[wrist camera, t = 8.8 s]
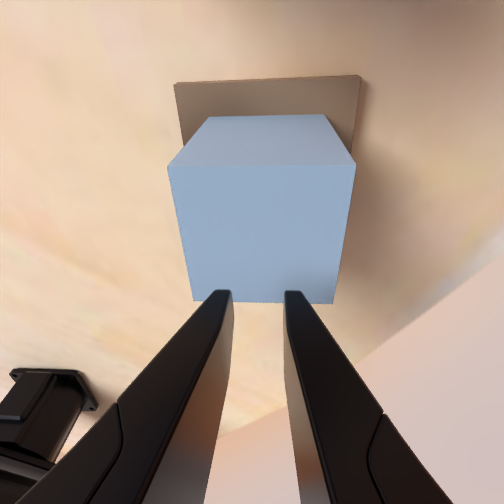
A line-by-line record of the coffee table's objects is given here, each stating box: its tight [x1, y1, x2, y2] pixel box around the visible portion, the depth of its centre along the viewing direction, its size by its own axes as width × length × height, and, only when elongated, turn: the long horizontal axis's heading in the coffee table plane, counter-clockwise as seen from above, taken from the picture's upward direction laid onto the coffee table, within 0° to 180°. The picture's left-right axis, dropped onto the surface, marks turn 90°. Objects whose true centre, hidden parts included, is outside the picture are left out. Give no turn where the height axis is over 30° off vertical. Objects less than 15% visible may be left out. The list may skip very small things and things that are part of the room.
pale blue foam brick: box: [167, 114, 356, 304], centre depth 12 cm, size 5×5×7 cm
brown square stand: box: [174, 75, 361, 154], centre depth 13 cm, size 8×8×6 cm
